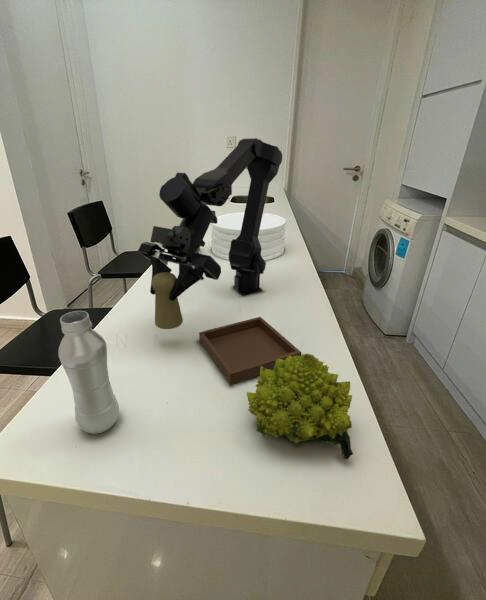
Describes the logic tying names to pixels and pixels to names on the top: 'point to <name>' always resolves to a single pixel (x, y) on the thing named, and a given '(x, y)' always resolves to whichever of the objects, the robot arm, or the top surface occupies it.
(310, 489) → the top surface
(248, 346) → the tray
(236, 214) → the plate stack
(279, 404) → the vegetable
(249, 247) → the robot arm
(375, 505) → the top surface
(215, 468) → the top surface
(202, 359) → the top surface
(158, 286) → the cork
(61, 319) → the plastic bottle
